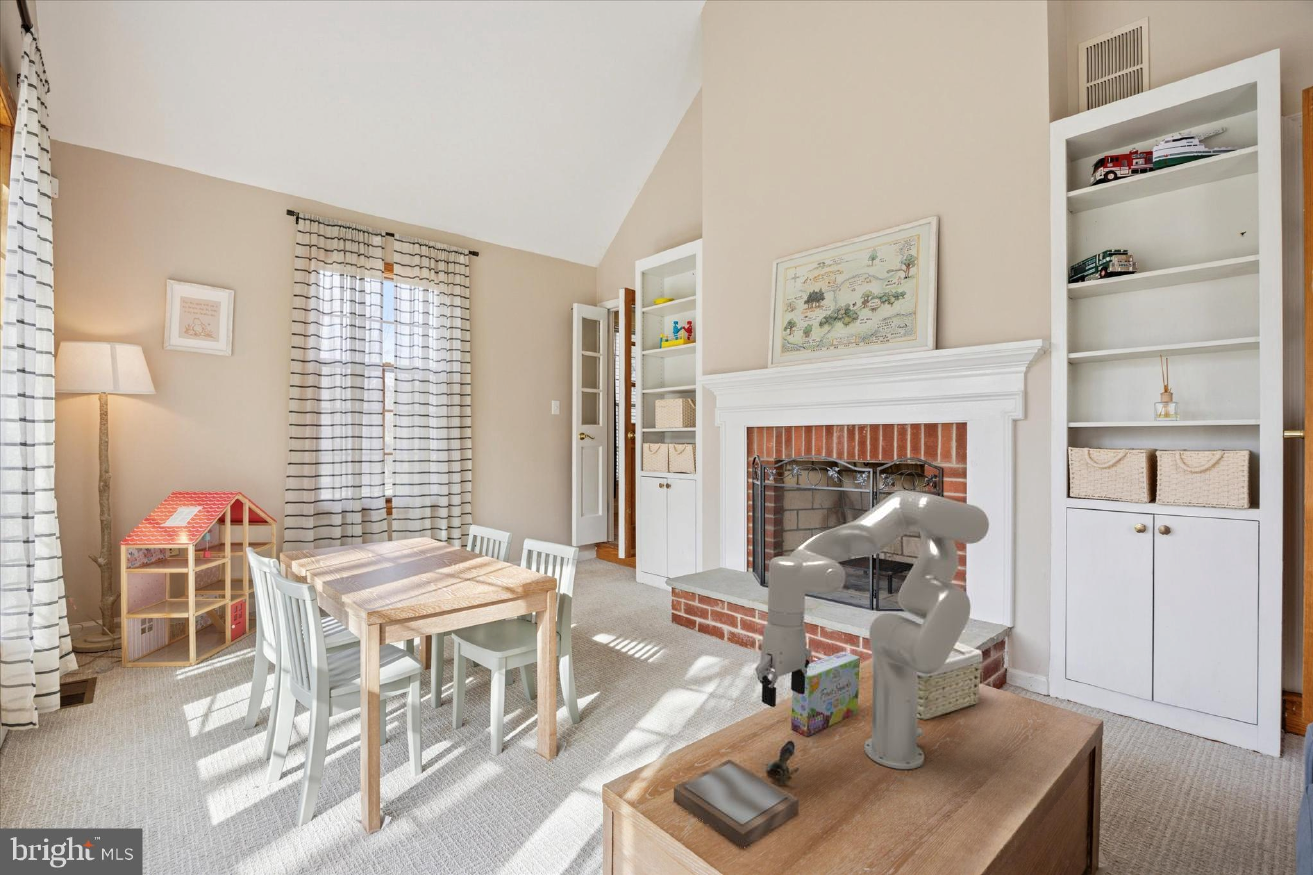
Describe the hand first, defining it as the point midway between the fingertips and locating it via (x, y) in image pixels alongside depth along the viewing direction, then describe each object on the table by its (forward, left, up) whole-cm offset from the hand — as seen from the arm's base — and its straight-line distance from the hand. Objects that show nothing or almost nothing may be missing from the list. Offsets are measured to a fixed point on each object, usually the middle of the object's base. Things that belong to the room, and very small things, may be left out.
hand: (783, 698), depth 129 cm
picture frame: (+15, 0, -17) cm, 23 cm away
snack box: (-29, -9, -17) cm, 35 cm away
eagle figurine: (-1, -1, -17) cm, 17 cm away
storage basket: (-60, +2, -17) cm, 63 cm away
